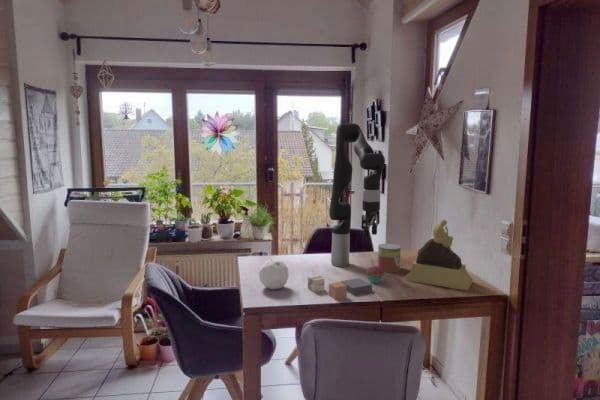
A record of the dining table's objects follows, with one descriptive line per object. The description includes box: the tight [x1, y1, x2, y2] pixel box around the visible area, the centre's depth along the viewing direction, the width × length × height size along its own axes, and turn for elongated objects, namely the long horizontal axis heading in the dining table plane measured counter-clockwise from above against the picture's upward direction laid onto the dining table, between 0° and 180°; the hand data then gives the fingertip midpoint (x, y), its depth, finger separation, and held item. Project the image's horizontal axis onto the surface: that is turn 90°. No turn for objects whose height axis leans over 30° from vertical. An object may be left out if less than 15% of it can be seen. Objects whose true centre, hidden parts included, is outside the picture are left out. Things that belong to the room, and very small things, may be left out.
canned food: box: [377, 243, 402, 273], centre depth 224 cm, size 11×11×12 cm
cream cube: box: [307, 274, 325, 293], centre depth 195 cm, size 6×6×6 cm
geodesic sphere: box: [258, 258, 290, 290], centre depth 196 cm, size 14×14×14 cm
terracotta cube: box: [328, 281, 348, 301], centre depth 186 cm, size 6×6×6 cm
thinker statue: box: [404, 219, 474, 291], centre depth 204 cm, size 28×13×30 cm, turn 59°
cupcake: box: [365, 257, 386, 284], centre depth 205 cm, size 9×8×12 cm
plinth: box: [340, 277, 373, 295], centre depth 195 cm, size 10×10×3 cm
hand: (370, 236), depth 191 cm, fingers open, 8 cm apart
